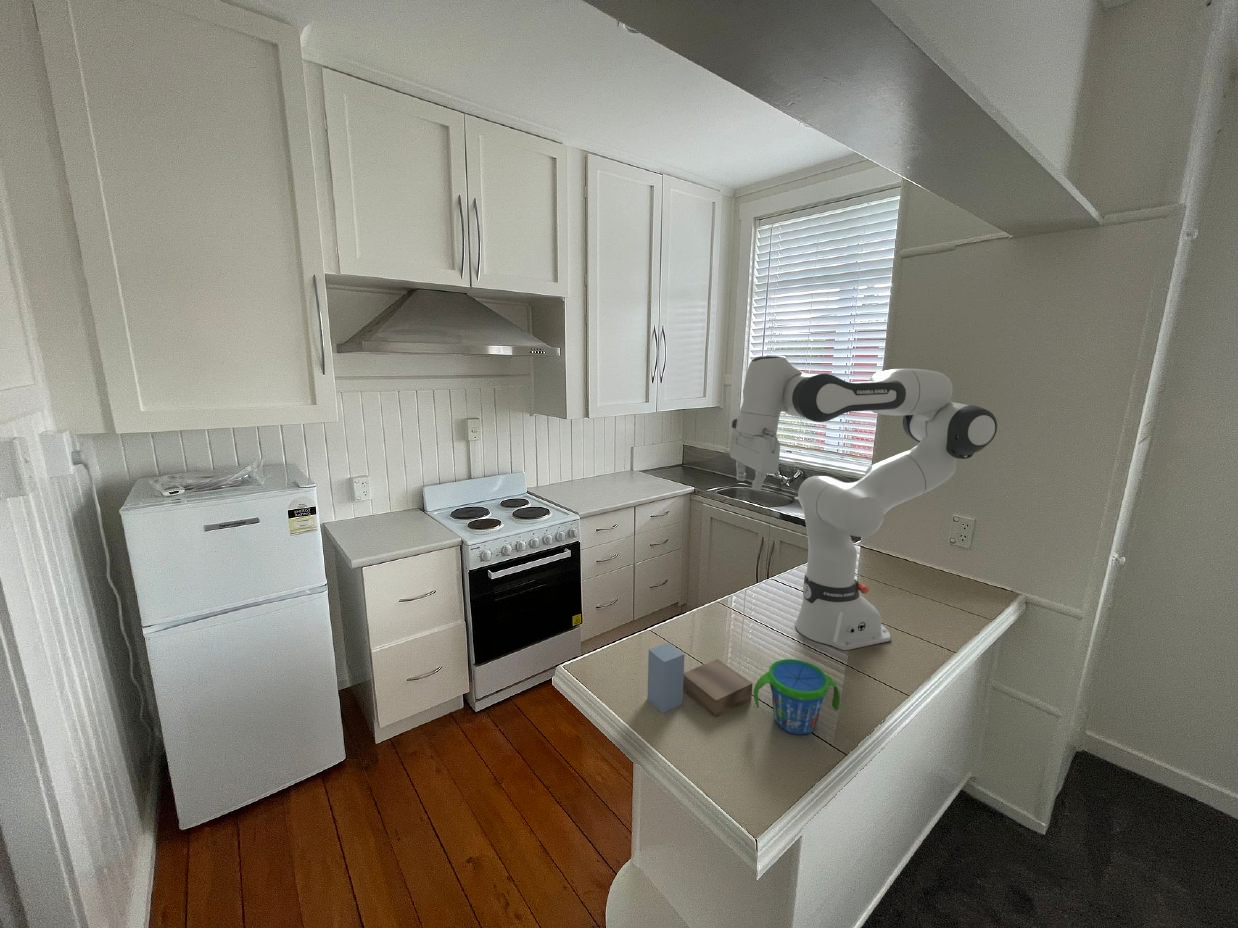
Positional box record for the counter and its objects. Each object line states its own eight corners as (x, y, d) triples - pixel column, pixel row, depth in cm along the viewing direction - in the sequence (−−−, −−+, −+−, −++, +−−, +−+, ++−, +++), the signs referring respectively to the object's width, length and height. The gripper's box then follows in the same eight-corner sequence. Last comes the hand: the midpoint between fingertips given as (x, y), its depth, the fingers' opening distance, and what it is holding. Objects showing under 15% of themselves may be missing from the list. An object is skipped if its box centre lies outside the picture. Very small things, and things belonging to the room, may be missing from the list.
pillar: (666, 690, 105) (668, 642, 103) (682, 704, 101) (684, 654, 98) (647, 698, 102) (648, 649, 100) (662, 713, 98) (664, 662, 96)
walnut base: (716, 675, 111) (717, 658, 110) (751, 700, 102) (752, 683, 102) (681, 690, 105) (682, 673, 105) (715, 718, 97) (716, 700, 96)
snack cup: (755, 737, 92) (758, 687, 90) (748, 700, 102) (752, 654, 100) (845, 748, 90) (851, 697, 88) (830, 708, 100) (835, 662, 98)
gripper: (791, 433, 106) (780, 497, 109) (752, 422, 126) (744, 476, 129) (763, 431, 105) (753, 495, 108) (728, 420, 125) (720, 474, 128)
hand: (747, 484), depth 118 cm, fingers open, 8 cm apart
